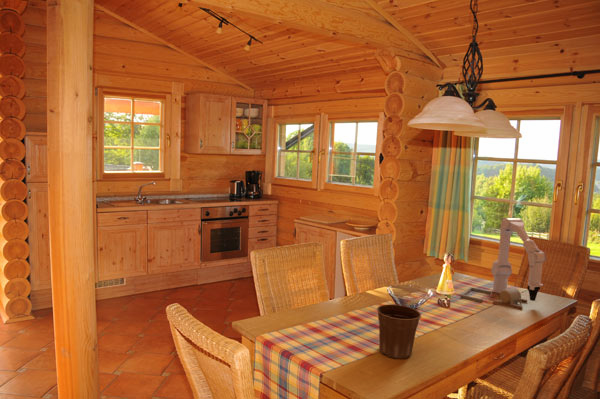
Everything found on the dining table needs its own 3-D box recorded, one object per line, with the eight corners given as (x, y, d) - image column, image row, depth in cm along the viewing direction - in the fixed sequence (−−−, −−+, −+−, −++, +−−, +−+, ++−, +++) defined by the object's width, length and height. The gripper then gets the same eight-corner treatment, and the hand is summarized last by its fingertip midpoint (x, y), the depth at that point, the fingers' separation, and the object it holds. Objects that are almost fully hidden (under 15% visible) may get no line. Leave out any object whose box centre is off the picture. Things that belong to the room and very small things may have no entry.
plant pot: (411, 343, 179) (414, 304, 177) (423, 362, 163) (426, 320, 161) (370, 342, 178) (373, 303, 177) (378, 361, 162) (381, 318, 160)
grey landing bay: (470, 289, 258) (470, 287, 258) (491, 293, 252) (491, 291, 252) (460, 297, 242) (460, 294, 242) (482, 302, 236) (482, 299, 235)
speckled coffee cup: (497, 301, 239) (499, 287, 238) (508, 300, 242) (510, 286, 241) (514, 308, 229) (516, 294, 228) (525, 306, 233) (527, 292, 232)
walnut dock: (499, 296, 247) (499, 294, 247) (527, 302, 239) (527, 299, 239) (492, 303, 235) (493, 300, 235) (522, 309, 227) (522, 306, 227)
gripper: (541, 279, 221) (539, 305, 223) (545, 273, 233) (543, 298, 234) (526, 276, 225) (523, 302, 227) (530, 270, 237) (528, 295, 238)
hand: (532, 300), depth 231 cm, fingers closed
